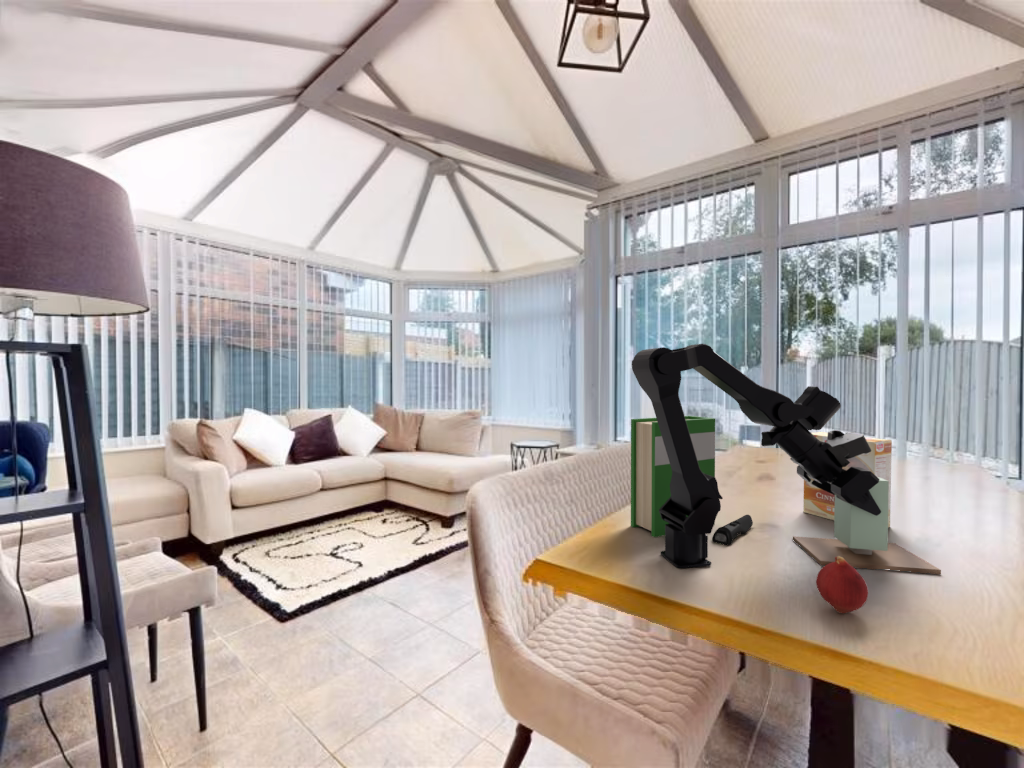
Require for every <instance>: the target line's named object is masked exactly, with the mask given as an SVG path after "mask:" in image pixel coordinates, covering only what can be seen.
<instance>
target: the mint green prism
mask: <svg viewBox="0 0 1024 768" xmlns="http://www.w3.org/2000/svg"><path fill="white" fill-rule="evenodd" d="M876 477H877V476H876ZM878 478H879V477H878ZM869 491H870V493H871V495H872V497H873V499H874V500H875V502H876V504H877V505H878V507H879V509H880V510H881V513H880V514H879V515H877V516H876V515H873V514H871V513H869V512H867V511H865V510H862V509H860V508H858V507H856V506H853V505H851V504H849V503H847V502H844V501H842V500H840V499H839V498H837V497H836V495H835V513H834V520H833V521H834V523H833V525H834V526H833V527H834V528H833V535H834V536H833V537H834V539H838V540H840V541H841V542H842V543H844V544H845V545H847V546H848V547H850V548H855V549H869V550H883V551H888V543H889V527H888V491H889V481H887V480H885V479H882V478H879V483H877V484H876V485H875V486H874V487H872V488H871V489H870V490H869Z"/></svg>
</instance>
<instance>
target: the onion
mask: <svg viewBox="0 0 1024 768" xmlns="http://www.w3.org/2000/svg"><path fill="white" fill-rule="evenodd" d="M835 559H836V561H835V562H832V563H829V564H827V565H825V566H824V565H823V566H822V567H821V568H820V569H819V571H818V573H817V576H816V580H815V585H816V589H817V591H818V593H819V595H820V596H821V597H822V598H823V600H824V601H825V602H826V603H827V604H829V605H830V606H831V607H832V608H833V609H834V610H835V611H836V612H837V613H839V614H847V613H852V612H854V611H857V610H860V609H861V608H863V606H864V605H865V604H866V602H867V600H868V596H869V589H868V585H867V582H866V580H865V579H864V577H863V576H862V575H861V573H859V571H858V570H857V568H854V567H852V566H851V565H850V564H848V563H847V562H846V561H845V559H844V558H843V557H840V556H838V557H835Z"/></svg>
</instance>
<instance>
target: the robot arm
mask: <svg viewBox="0 0 1024 768" xmlns="http://www.w3.org/2000/svg"><path fill="white" fill-rule="evenodd" d="M692 369H693V370H694V371H696V372H698V374H700V375H701V376H703V377H704V378H705V379H706V380H708V381H709V382H711V384H712V383H713V384H714V385H715V387H717V388H719V389H720V390H722V391H723V392H724V393H725V394H726V395H728V396H729V397H731V398H732V399H734V400H735V402H737V404H738V407H739V409H740V411H741V412H742V413H743V414H744V415H745V417H747V418H748V419H749V420H750V421H751V422H752V423H754V424H757V425H764V426H770V427H771V428H770V430H768V431H767V430H766V431H762V432H761V433H760V434H761V442H760V443H761V446H762V447H770V446H771V447H772V446H775V445H777V446H778V447H779V448H781V450H783V452H785V454H786V455H788V457H790V458H789V460H790V461H792V462H793V463H794V464H796V465H797V466H796V474H797V475H798V476H800V477H801V479H802V480H803V481H804V480H806V481H807V482H810V481H811V479H813V480H814V481H813V482H812V483H811V484H812V485H814V486H816V487H818V488H820V489H822V490H824V491H826V492H829V493H831V494H833V495H836V497H837V498H839V499H840V500H842V501H844V502H847V503H849V504H851V505H853V506H856V507H858V508H860V509H862V510H865V511H867V512H869V513H871V514H873V515H876V516H877V515H879V514H880V513H881V510H880V509H879V507H878V505H877V504H876V502H875V500H874V499H873V497H872V495H871V493H870V491H869V490H870V489H871V488H872V487H874V486H875V485H876V484H877V483H879V478H878V477H876V476H875V475H874V474H873V473H872V472H871V471H869V470H866V469H863V468H860V467H850V468H849V469H848V470H844V469H842V467H846V466H847V465H848V464H849V463H850V462H849V461H848V460H847V459H850V458H853V457H855V456H858V455H861V454H863V453H865V454H867V453H869V452H871V448H870V447H869V445H868V443H867V441H866V439H865V437H866V436H865V435H864V434H862V433H858V432H854V431H853V432H848V431H846V432H845V433H843V432H842V431H840V430H839V429H832V430H830V431H827V433H828V438H827V440H826V441H827V442H821V441H820V440H818V439H817V438H816V437H815V436H814V435H813V434H812V433H813V432H811V431H812V430H815V431H820V430H821V429H823V427H825V425H827V423H828V422H829V421H830V420H831V419H832V418H833V417H834V416H835V415H836V413H837V412H838V411H839V410H840V409H841V407H842V405H841V402H840V401H839V399H838V398H836V397H834V396H833V395H831V394H830V393H828V392H826V391H823V390H821V389H820V388H819V386H816V385H815V386H812V385H811V386H810V385H809V386H807V387H806V388H805V389H804V390H803V392H802V393H801V395H800V396H799V397H797V399H796V400H795V401H794V400H792V399H791V398H790V397H789V396H786V395H785V394H782V393H780V392H778V391H776V390H773V389H771V388H768V387H765V386H762V385H760V384H758V383H756V381H753V380H752V379H751V378H750V377H748V376H747V375H746V374H745V373H743V372H742V371H741V370H739V369H738V368H737V367H735V366H734V365H733V364H731V363H730V362H729V361H728V360H726V359H724V358H723V357H722V356H721V355H719V354H718V353H717V352H716V351H714V349H713V347H711V346H710V345H708V344H706V343H695V344H689V345H686V346H685V347H679V348H675V349H671V348H668V347H664V346H663V347H655V348H649V349H648V348H647V349H642V350H639V351H638V352H637V353H636V354H635V355H634V357H633V359H632V360H631V370H632V373H633V375H634V377H635V378H636V381H637V383H638V385H639V387H640V389H642V390H643V392H644V393H645V394H646V395H647V396H648V398H649V400H650V402H651V404H652V407H653V411H654V415H655V418H657V422H658V425H659V428H660V432H661V435H662V439H663V442H664V445H665V449H666V452H667V455H668V459H669V462H670V466H671V469H672V477H671V482H670V492H671V497H670V498H669V499H668V500H667V501H666V502H665V503H664V505H663V506H662V507H661V508H660V509H659V513H660V516H661V519H662V520H664V521H666V522H668V523H669V524H665V535H664V550H662V551H660V555H661V556H662V557H664V558H665V559H666V560H667V561H669V562H670V563H671V564H672V565H673V566H675V567H676V568H678V569H685V568H687V569H689V568H697V567H698V568H700V567H710V566H712V562H711V561H710V560H709V559H707V558H708V555H709V551H708V549H709V548H708V546H709V545H708V543H709V542H708V541H709V537H708V535H711V533H712V531H713V528H714V526H715V525H714V522H715V523H716V519H717V516H718V514H719V512H720V511H721V508H722V504H721V500H723V496H722V495H721V493H720V491H719V486H718V480H717V478H716V476H715V477H713V476H710V475H707V474H704V473H703V472H702V471H701V469H700V467H699V464H698V460H697V457H696V453H695V450H694V447H693V443H692V440H691V436H690V433H689V429H688V426H687V423H686V419H685V416H686V415H685V413H684V409H683V406H682V403H681V399H680V395H679V393H680V387H681V382H682V373H681V372H684V371H689V370H692ZM809 477H810V478H811V479H810V478H809ZM686 515H687V516H688V517H686Z"/></svg>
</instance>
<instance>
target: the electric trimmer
mask: <svg viewBox="0 0 1024 768" xmlns="http://www.w3.org/2000/svg"><path fill="white" fill-rule="evenodd" d="M753 523H754V522H753V519H752V516H751V515H749V514H744V515H742V516H741V517H739V518H737V519H735V520H733V521H731V522H728V523H726V524H725V525H723V526H720V527H718V528H717V529H716V530H714V533H713V535H712V538H711V541H712V542H713V543H715V542H717V543H716V544H719V543H721V544H720V545H723V544H724V545H723V546H726V545H727V546H732V543H733V540H734V539H736V538H737V537H738V536H739V535H743V536H744V535H746V534H747V532H748V531H750V529H751V528H752V527H753Z"/></svg>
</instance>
